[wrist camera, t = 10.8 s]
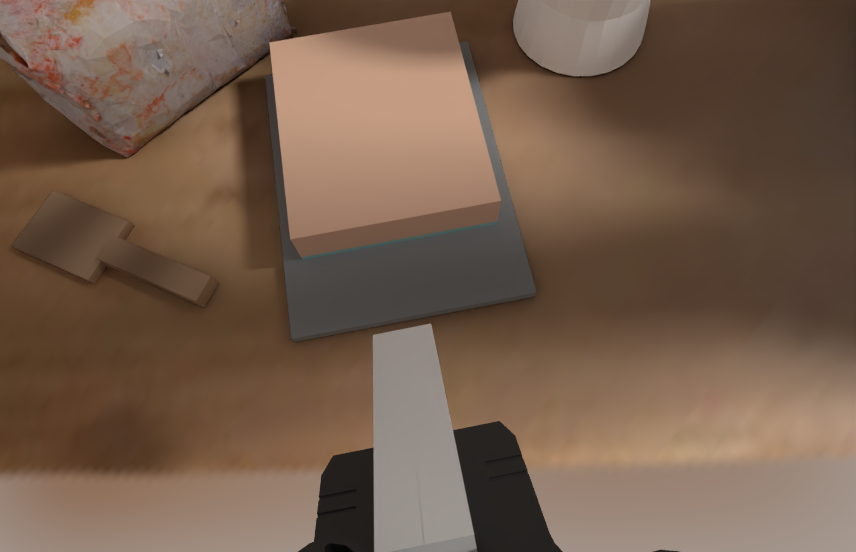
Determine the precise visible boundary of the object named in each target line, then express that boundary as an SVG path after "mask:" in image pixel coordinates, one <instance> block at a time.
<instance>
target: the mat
mask: <svg viewBox="0 0 856 552" xmlns="http://www.w3.org/2000/svg"><path fill="white" fill-rule="evenodd" d="M459 44H460V48H461V52H462V56H463V59H464V63H465V67H466V71H467V74H468V78H469V82H470V86H471V89H472V93H473V97H474V101H475V104H476V108H477V112H478V116H479V119H480V123H481V127H482V131H483V134H484V138H485V142H486V146H487V149H488V153H489V157H490V161H491V164H492V168H493V172H494V176H495V179H496V183H497V187H498V191H499V194H500V198H501V205H500V211H499V217H498V223H497V224H494V225H489V226H484V227H478V228H473V229H467V230H462V231H456V232H451V233H446V234H440V235H435V236H429V237H424V238H418V239H413V240H408V241H402V242H397V243H391V244H386V245H380V246H375V247H370V248H364V249H359V250H353V251H348V252H342V253H337V254H331V255H326V256H321V257H315V258H310V259H304V260H302V258H301V256H300V255H299V253H298V251H297V250H296V248H295V246H294V245H293V243H292V242H291V240H290V233H289V224H288V214H287V205H286V195H285V186H284V176H283V167H282V157H281V148H280V138H279V129H278V119H277V110H276V101H275V91H274V82H273V75H268V76H265V82H266V92H267V102H268V112H269V122H270V132H271V143H272V153H273V163H274V173H275V183H276V193H277V203H278V213H279V223H280V233H281V243H282V253H283V264H284V274H285V284H286V294H287V304H288V314H289V324H290V334H291V339H292V340H293V341H294V342H297V341H303V340H308V339H313V338H319V337H324V336H329V335H335V334H340V333H345V332H350V331H356V330H361V329H366V328H372V327H377V326H382V325H387V324H393V323H398V322H403V321H409V320H414V319H419V318H424V317H430V316H435V315H440V314H446V313H451V312H456V311H462V310H467V309H472V308H477V307H483V306H488V305H493V304H499V303H504V302H509V301H514V300H520V299H525V298H530V297H535V296H536V293H537V291H536V287H535V284H534V280H533V277H532V273H531V269H530V266H529V262H528V258H527V255H526V251H525V247H524V244H523V240H522V237H521V233H520V229H519V226H518V222H517V218H516V215H515V211H514V207H513V204H512V200H511V196H510V193H509V189H508V186H507V182H506V178H505V175H504V171H503V167H502V164H501V160H500V156H499V153H498V149H497V145H496V142H495V138H494V135H493V131H492V127H491V124H490V120H489V116H488V113H487V109H486V105H485V102H484V98H483V94H482V91H481V87H480V84H479V80H478V76H477V73H476V69H475V65H474V62H473V58H472V54H471V51H470V47H469V43H468V41H465V42H459Z"/></svg>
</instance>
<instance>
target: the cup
mask: <svg viewBox="0 0 856 552" xmlns="http://www.w3.org/2000/svg"><path fill="white" fill-rule="evenodd" d="M650 1H651V0H518V3H517V6H516V10H515V14H514V18H513V29H514V34H515V37H516V39H517V42H518V44H519V46H520V47H521V48H522V50H523V51H524V52H525V53H526V55H527V56H528V57H529V58H531V59H532V60H533V61H535V62H536V63H538V64H539V65H540V66H542V67H544V68H547V69H549V70H551V71H554V72H556V73H561V74H565V75H570V76H594V75H598V74H603V73H607V72H610V71H612V70H614V69H616V68H618V67H620V66H622V65H624V64H625V63H626V62H627V61H628V60H629V59H630V58H632V57H633V56H634V55H635V53H636V51H637V50H638V48H639V46H640V45H641V42H642V38H643V35H644V31H645V27H646V22H647V17H648V12H649V7H650Z"/></svg>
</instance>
